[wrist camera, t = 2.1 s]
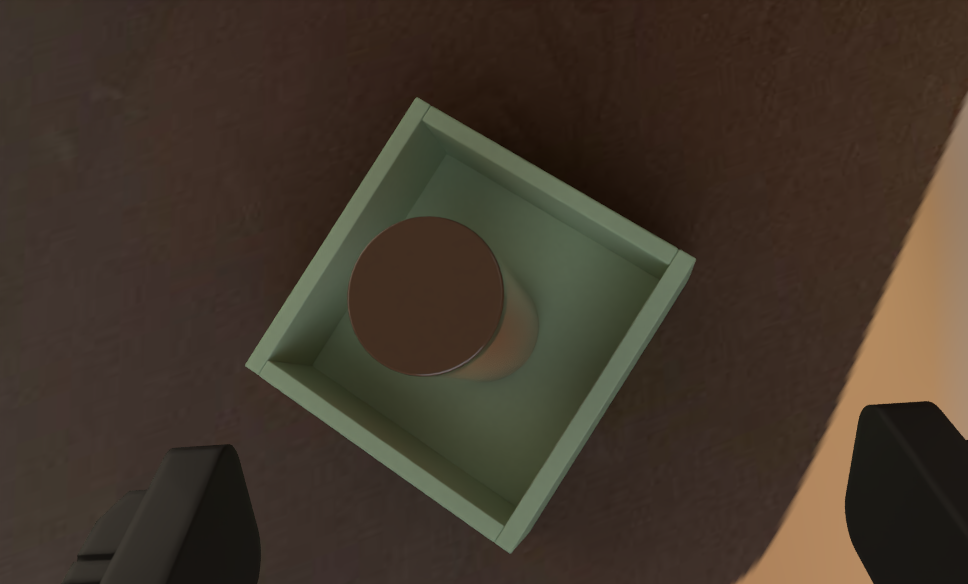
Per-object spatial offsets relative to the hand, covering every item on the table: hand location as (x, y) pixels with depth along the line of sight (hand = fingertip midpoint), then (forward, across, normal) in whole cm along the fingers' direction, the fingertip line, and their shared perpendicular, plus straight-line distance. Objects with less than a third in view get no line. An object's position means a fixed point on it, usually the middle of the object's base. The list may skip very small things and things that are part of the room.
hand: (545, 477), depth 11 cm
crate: (+23, +1, +11) cm, 25 cm away
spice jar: (+22, +1, +11) cm, 25 cm away
